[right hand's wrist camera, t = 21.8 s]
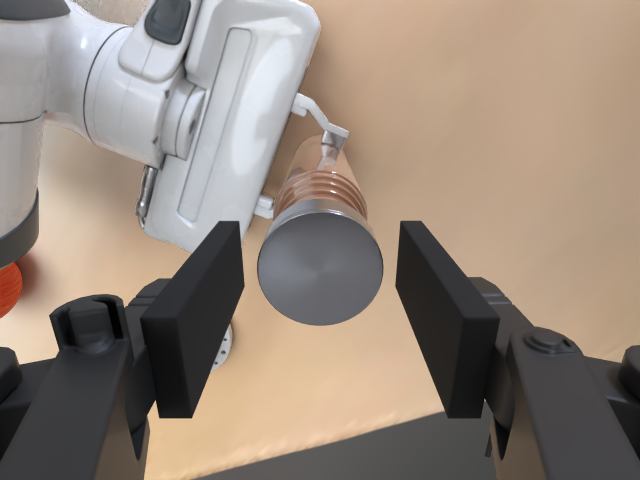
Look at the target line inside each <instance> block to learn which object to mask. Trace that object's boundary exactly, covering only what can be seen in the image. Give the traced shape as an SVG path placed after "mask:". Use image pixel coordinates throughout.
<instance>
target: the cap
mask: <svg viewBox="0 0 640 480" xmlns="http://www.w3.org/2000/svg"><path fill="white" fill-rule="evenodd" d="M257 274H258V280H259V284H260V286H261V289H262V291H263V293H264V295H265V297H266V298H267V300H268V301H269V302H270V304H271V305H272V306H273V307H274V308H275V309H276V310H278V311H279V312H280V313H281V314H283V315H285V316H286V317H288V318H290V319H292V320H294V321H297V322H300V323H303V324H308V325H317V326H322V325H333V324H337V323H341V322H343V321H346V320H349V319H350V318H352V317H354V316H356V315H357V314H359V313H360V312H362V311H363V310H364V309H365V308H366V307H367V306H368V305H369V304H370V303H371V302H372V300H373V299H374V297H375V296H376V294H377V292H378V290H379V288H380V285H381V282H382V277H383V259H382V255H381V251H380V249H379V246H378V244H377V241H376V239H375V236H374V234H373V231H372V229H371V227H370V225H369V224H368V222H367V221H366V220H365V218H364V217H363V216H362V215H361V214H360V213H359V212H357V211H356V210H355V209H353V208H352V207H350V206H348V205H346V204H344V203H342V202H339V201H335V200H331V199H310V200H305V201H302V202H299V203H296V204H294V205H292V206H290V207H289V208H287V209H286V210H284V211H283V212H282V213H281V214H280V215H279V216H278V217H277V218H276V219H275V220H274V222H273V223H272V224H271V226H270V228H269V230H268V232H267V235H266V237H265V240H264V242H263V245H262V247H261V250H260V253H259V257H258V262H257Z"/></svg>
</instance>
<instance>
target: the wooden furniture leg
mask: <svg viewBox="0 0 640 480" xmlns="http://www.w3.org/2000/svg"><path fill="white" fill-rule="evenodd" d="M321 138H322V135H315V136H312V137H309V138H308V139H306V140H305V141H303V142H302V143H301V145H300V146H299V148H298V149H297V152H296V154H295V156H294V159H293V161H292V163H291V166H290V168H289V170H288V173H287V175H286V177H285V179H284V182H283V184H282V186H281V189H280V191H279V193H278V196H277V198H276V201H275V204H274V209H273V222H274V220H275V219H276V218H277V217H278V216H279V215H280V214H281V213H282V212H283V211H284V210H286V209H287V208H289V207H290V206H292V205H294V204H296V203H299V202H302V201H305V200H310V199H331V200H335V201H339V202H342V203H344V204H346V205H348V206H350V207H352V208H353V209H355V210H356V211H357V212H359V213H360V214H361V215H362V216H363V217H364V218H365V220H366V221H367V207H366V202H365V200H364V197H363V195H362V192H361V190H360V188H359V186H358V183H357V181H356V179H355V176H354V174H353V172H352V170H351V167H350V165H349V163H348V160H347V158H346V156H345V154H344V151H343V149H342V150H339V149H336V148H335V147H334V146H333V145H327V144H325V143H322V142H321Z"/></svg>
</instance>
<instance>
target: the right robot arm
mask: <svg viewBox="0 0 640 480" xmlns="http://www.w3.org/2000/svg"><path fill="white" fill-rule="evenodd" d="M244 286H245V285H244V272H243V260H242V248H241V235H240V223H239V221H218V223H217V224H216V225H215V226H214V227H213V229H212V230H211V231H210V232H209V234H208V235H207V236H206V237H205V238H204V240H203V241H202V242H201V243H200V245H199V246H198V247H197V248H196V249H195V251H194V252H193V253H192V254H191V256H190V257H189V258H188V259H187V260H186V262H185V263H184V264H183V265H182V267H181V268H180V269H179V270H178V271H177V273H176V274H175V275H174V276H173V278H172V279H157V280H155V281H154V282H152V283H150V284H148V285H147V286H145V287H144V288H143V289H142V290H141V291H140V292H139V293H138V294H137V295H136V298H134V299H133V300H132V301H131V302H130V303H129V304H128V306H126V307H125V308H124V305H123V300H122V299H121V298H119V297H118V296H115V295H109V294H101V295H91V296H86V297H82V298H78V299H76V300H73V301H70V302H67V303H66V304H64V305H62V306H60V307H58V308H57V309H55V310H54V311H53V312H52V313H51V314H50V315H49V317H50V320H51V323H52V327H53V330H54V334H55V337H56V340H57V344H58V347H59V352H58V354H57V356H56V358H52V359H47V360H42V361H37V362H32V363H26V364H21V365H19V363H18V360H17V357H16V354H15V352H14V351H13V350H11V349H10V348H6V347H0V480H144V473H145V466H146V458H147V450H148V443H149V435H150V428H149V422H148V417H147V414H148V413H149V411H150V409H151V407H152V405H153V403H154V402H155V400H156V404H157V409H158V414H159V418H192V417H193V414H194V412H195V409H196V407H197V404H198V402H199V399H200V397H201V394H202V392H203V389H204V387H205V384H206V382H207V379H208V377H209V374H210V372H211V369H212V367H213V364H214V362H215V359H216V357H217V354H218V352H219V349H220V347H221V344H222V341H223V339H224V336H225V334H226V331H227V329H228V326H229V324H230V321H231V319H232V316H233V314H234V311H235V309H236V306H237V304H238V301H239V299H240V296H241V294H242V291H243V289H244ZM395 286H396V289H397V291H398V294H399V296H400V299H401V301H402V304H403V306H404V309H405V311H406V314H407V316H408V319H409V321H410V324H411V326H412V329H413V331H414V334H415V336H416V339H417V341H418V344H419V346H420V349H421V352H422V354H423V357H424V359H425V362H426V364H427V367H428V369H429V372H430V374H431V377H432V379H433V382H434V384H435V387H436V389H437V392H438V394H439V397H440V399H441V402H442V404H443V407H444V409H445V412H446V414H447V417H448V418H481V414H482V409H483V404H484V399H485V400H486V402H487V403H488V405H489V407H490V409H491V411H492V412H493V417H492V422H491V427H490V431H489V436H488V441H487V445H486V451H485V456H486V457H490V455H491V451H492V450H493V457H494V465H495V472H496V480H640V345H637V346H631V347H630V348H628V349H626V351H625V354H624V357H623V360H622V363H618V362H612V361H607V360H602V359H596V358H591V357H587V356H584V355H583V353H582V351H581V350H580V348H579V347H578V346H577V345H576V344H575V343H574V342H573V341H572V340H570V339H568V338H567V337H565V336H564V335H562V334H559V333H557V332H555V331H552V330H549V329H545V328H541V327H534V326H533V325H532V324H531V323H530V321H529V320H528V319H527V318H526V317H525V316H524V315H523V314H522V313H521V312H520V311H519V310H518V309H517V308H516V307H515V305H512V302H511V301H510V300H509V299H508V298H507V297H505V295H504V294H503V293H502V292H501V290H500V289H499V288H498V287H497V286H496V285H494V284H492V283H491V282H489V281H487V280H485V279H483V278H482V277H467V276H466V275H465V274H464V273H463V271H462V270H461V269H460V268H459V267H458V265H457V264H456V263H455V262H454V260H453V259H452V258H451V257H450V256H449V254H448V253H447V252H446V251H445V249H444V248H443V247H442V246H441V245H440V243H439V242H438V241H437V240H436V238H435V237H434V236H433V235H432V234H431V232H430V231H429V230H428V229H427V227H426V226H425V225H424V224H423V223H422V221H401V223H400V235H399V248H398V260H397V273H396V285H395Z"/></svg>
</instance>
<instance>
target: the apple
mask: <svg viewBox="0 0 640 480" xmlns="http://www.w3.org/2000/svg"><path fill="white" fill-rule="evenodd" d="M21 291H22V276H21V272H20V270H19V268H18V266H17V265H16V264H15V262H13V263H11V264H10V265H8V266H7V267H5V268H3V269H1V270H0V318H2V317H3V316H4V315H6V314H7V313H8V312H9V311H10V310H11V309H12V308H13V307H14V305H15V304H16V302H17V301H18V299H19V297H20V294H21Z"/></svg>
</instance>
